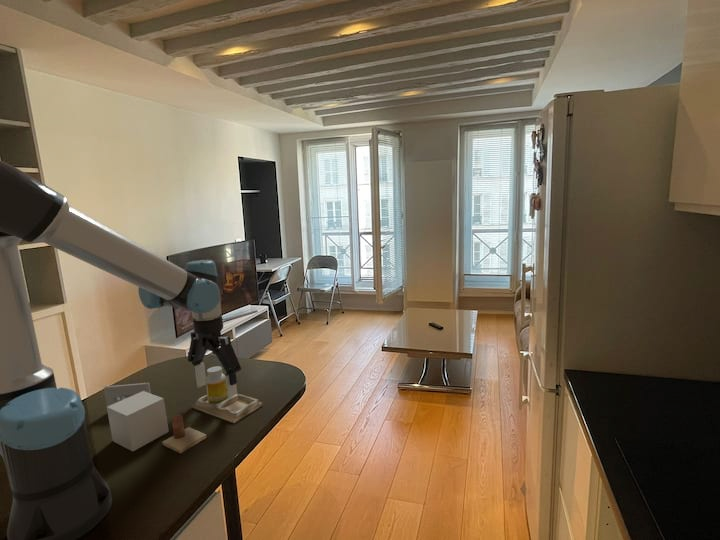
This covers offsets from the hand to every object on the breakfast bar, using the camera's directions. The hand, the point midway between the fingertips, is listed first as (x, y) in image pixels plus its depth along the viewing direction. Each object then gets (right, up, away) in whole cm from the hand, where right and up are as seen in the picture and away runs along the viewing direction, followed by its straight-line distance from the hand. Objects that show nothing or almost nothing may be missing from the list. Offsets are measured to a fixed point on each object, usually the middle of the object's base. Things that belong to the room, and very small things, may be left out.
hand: (216, 390), depth 112 cm
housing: (-14, -7, -14) cm, 21 cm away
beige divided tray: (+4, -4, -1) cm, 6 cm away
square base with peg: (-1, -7, -17) cm, 18 cm away
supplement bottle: (0, -3, +1) cm, 3 cm away
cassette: (-24, -6, 0) cm, 25 cm away
